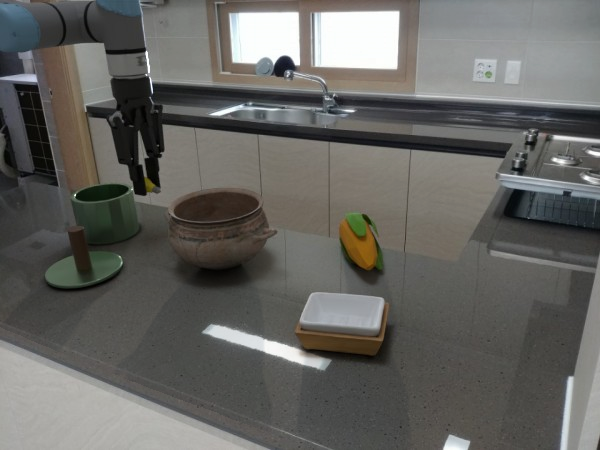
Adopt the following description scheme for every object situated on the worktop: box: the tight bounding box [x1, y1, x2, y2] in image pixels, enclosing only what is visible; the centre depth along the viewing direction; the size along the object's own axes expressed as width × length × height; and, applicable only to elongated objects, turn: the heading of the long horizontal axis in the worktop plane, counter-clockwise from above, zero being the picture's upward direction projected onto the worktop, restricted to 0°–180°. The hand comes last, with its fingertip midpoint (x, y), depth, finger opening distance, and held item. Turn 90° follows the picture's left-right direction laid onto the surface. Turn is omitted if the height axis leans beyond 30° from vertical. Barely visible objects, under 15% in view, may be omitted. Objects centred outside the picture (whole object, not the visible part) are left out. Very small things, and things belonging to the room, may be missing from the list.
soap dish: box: [294, 291, 390, 357], centre depth 79 cm, size 12×10×5 cm
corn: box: [338, 212, 384, 271], centre depth 101 cm, size 7×8×20 cm
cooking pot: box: [164, 187, 278, 272], centre depth 101 cm, size 25×19×12 cm
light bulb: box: [144, 175, 162, 195], centre depth 111 cm, size 3×6×4 cm, turn 71°
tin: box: [70, 182, 140, 246], centre depth 117 cm, size 13×13×10 cm
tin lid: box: [44, 225, 123, 289], centre depth 100 cm, size 14×14×9 cm
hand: (147, 191), depth 112 cm, fingers closed on light bulb, 3 cm apart
